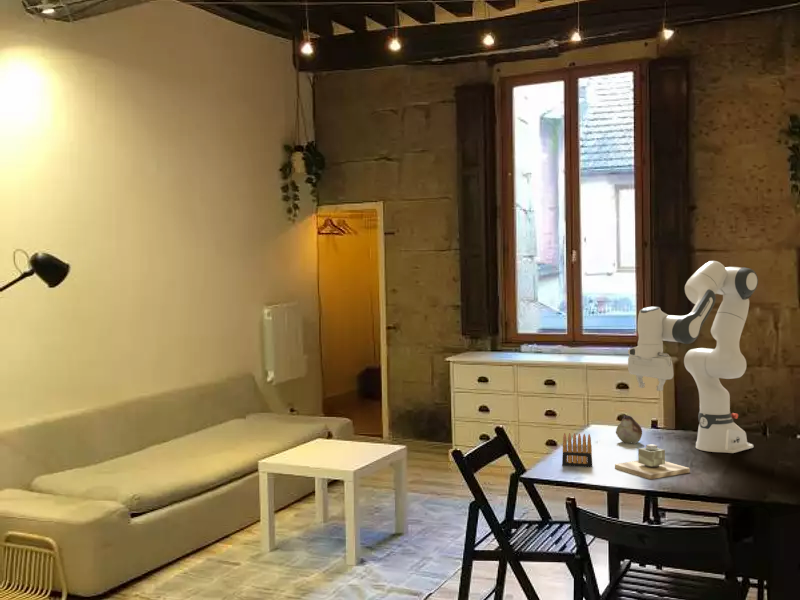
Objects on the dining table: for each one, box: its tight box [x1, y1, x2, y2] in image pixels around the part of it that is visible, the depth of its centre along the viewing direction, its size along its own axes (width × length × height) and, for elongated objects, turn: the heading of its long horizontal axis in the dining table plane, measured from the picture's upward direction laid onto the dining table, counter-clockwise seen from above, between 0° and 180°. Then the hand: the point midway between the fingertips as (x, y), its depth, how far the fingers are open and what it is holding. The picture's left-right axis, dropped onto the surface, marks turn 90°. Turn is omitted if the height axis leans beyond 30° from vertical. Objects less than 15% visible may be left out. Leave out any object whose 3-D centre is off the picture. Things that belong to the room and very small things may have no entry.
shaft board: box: [614, 443, 691, 480], centre depth 308 cm, size 18×18×9 cm
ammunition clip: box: [561, 432, 593, 468], centre depth 317 cm, size 11×2×12 cm, turn 72°
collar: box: [637, 447, 666, 466], centre depth 308 cm, size 6×6×5 cm
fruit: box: [615, 414, 643, 445], centre depth 354 cm, size 10×9×12 cm
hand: (650, 389), depth 319 cm, fingers open, 8 cm apart
